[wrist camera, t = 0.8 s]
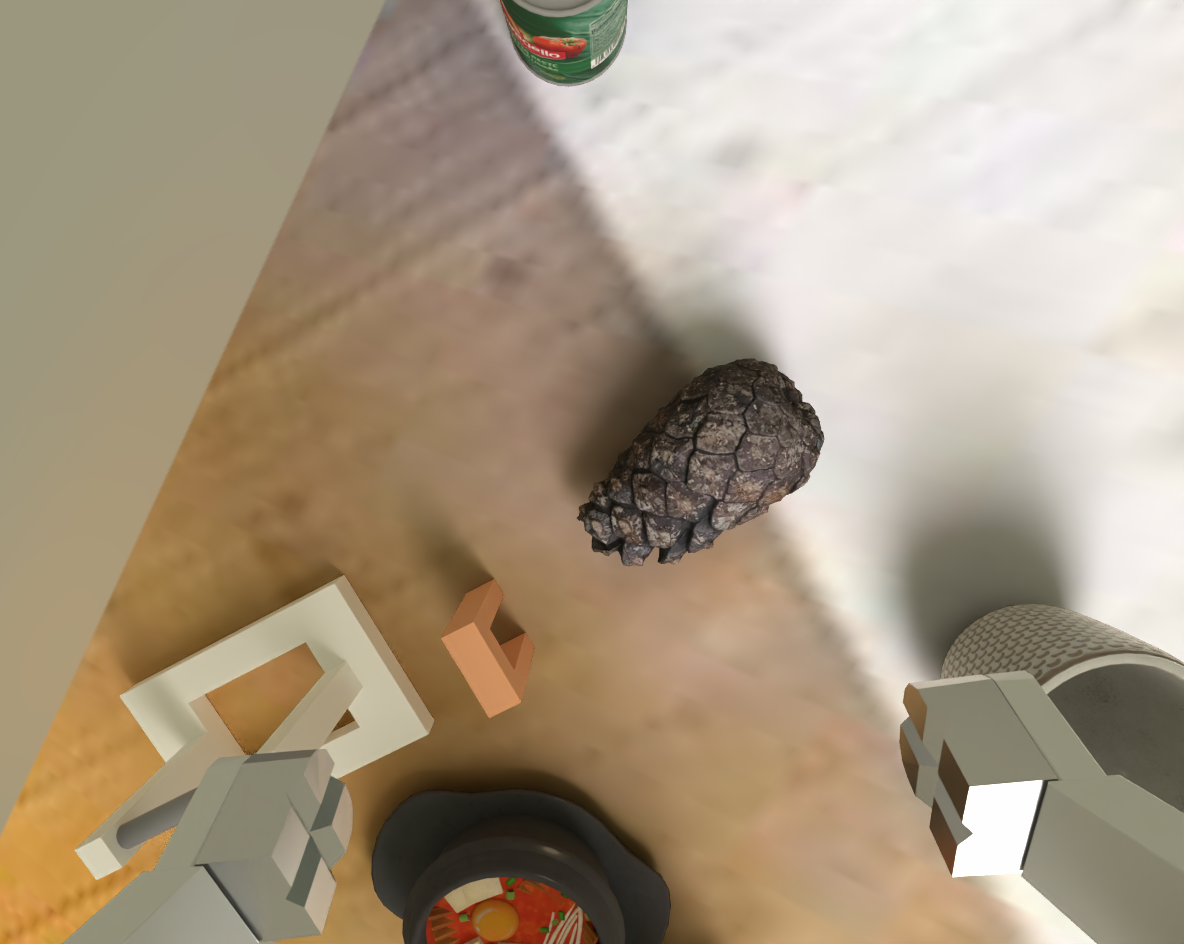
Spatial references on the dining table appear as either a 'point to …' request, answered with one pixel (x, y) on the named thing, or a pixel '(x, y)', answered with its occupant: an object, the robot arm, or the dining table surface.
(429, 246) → the dining table surface
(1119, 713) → the planter
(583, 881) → the casserole
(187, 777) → the toilet paper holder
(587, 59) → the canned tomato
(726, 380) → the pine cone
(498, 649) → the orange block
